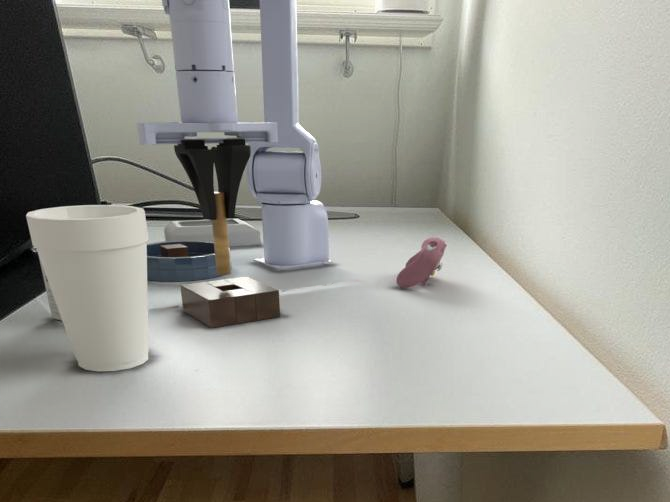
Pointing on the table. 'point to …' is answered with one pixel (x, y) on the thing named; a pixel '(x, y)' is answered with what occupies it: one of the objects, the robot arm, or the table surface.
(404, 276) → the pink rounded piece
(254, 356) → the table surface
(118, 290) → the foam cup
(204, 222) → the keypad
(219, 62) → the robot arm
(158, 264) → the bowl
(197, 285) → the stick stand
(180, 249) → the walnut block
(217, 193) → the stirring stick
